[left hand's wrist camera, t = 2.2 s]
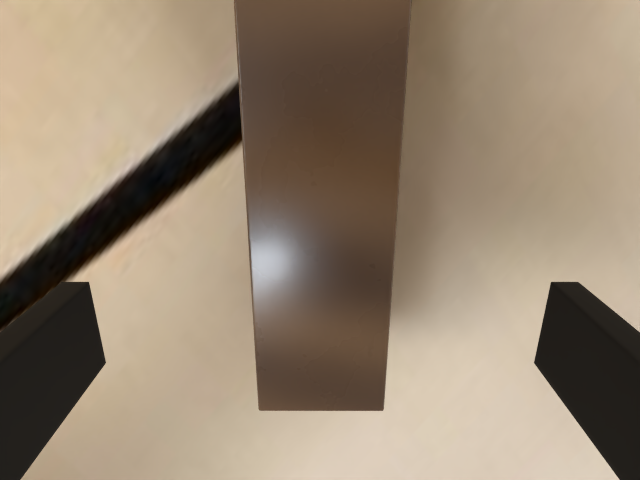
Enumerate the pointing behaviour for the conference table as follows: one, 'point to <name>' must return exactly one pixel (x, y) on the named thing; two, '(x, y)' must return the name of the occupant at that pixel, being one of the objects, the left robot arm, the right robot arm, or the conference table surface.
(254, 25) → the beam
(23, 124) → the conference table surface
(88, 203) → the conference table surface
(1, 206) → the conference table surface
